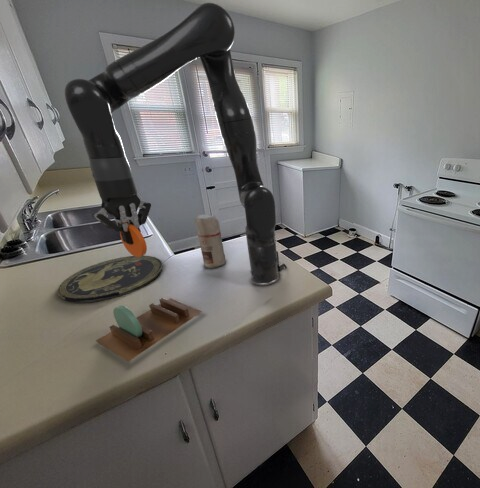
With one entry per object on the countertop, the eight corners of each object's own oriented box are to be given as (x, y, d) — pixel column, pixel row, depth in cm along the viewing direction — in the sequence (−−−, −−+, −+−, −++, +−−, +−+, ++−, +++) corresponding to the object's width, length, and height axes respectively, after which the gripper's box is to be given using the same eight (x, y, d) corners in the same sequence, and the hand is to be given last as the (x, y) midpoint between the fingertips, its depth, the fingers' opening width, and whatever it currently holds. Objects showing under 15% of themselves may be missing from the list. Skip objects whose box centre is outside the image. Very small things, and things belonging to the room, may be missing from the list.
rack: (171, 302, 83) (168, 291, 81) (203, 315, 77) (200, 304, 75) (97, 345, 67) (91, 332, 65) (130, 366, 61) (124, 353, 59)
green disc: (125, 329, 70) (114, 300, 66) (146, 341, 66) (135, 311, 62) (120, 332, 69) (108, 303, 65) (141, 344, 65) (130, 314, 61)
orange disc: (130, 251, 76) (120, 221, 72) (150, 258, 72) (141, 226, 68) (125, 253, 75) (115, 222, 71) (145, 260, 71) (136, 228, 68)
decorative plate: (153, 248, 115) (170, 275, 94) (154, 252, 115) (172, 280, 94) (59, 271, 97) (54, 311, 76) (61, 276, 98) (57, 317, 77)
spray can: (199, 264, 105) (189, 215, 97) (219, 257, 111) (210, 210, 103) (210, 271, 100) (200, 220, 92) (230, 263, 106) (222, 214, 98)
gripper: (89, 182, 58) (114, 255, 65) (151, 173, 69) (166, 236, 76) (71, 179, 61) (97, 249, 68) (133, 171, 72) (149, 232, 79)
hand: (133, 242), depth 72 cm, fingers closed on orange disc, 1 cm apart
